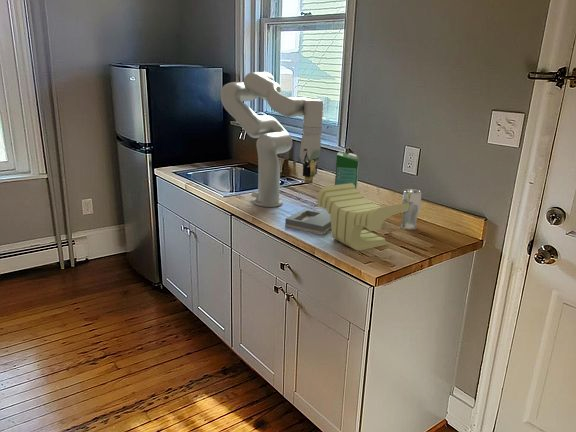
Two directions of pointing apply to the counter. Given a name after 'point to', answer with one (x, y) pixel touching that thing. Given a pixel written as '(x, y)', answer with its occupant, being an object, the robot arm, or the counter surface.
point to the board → (309, 221)
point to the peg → (311, 172)
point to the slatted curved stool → (355, 215)
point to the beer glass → (411, 208)
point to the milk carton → (346, 169)
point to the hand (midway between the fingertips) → (309, 174)
